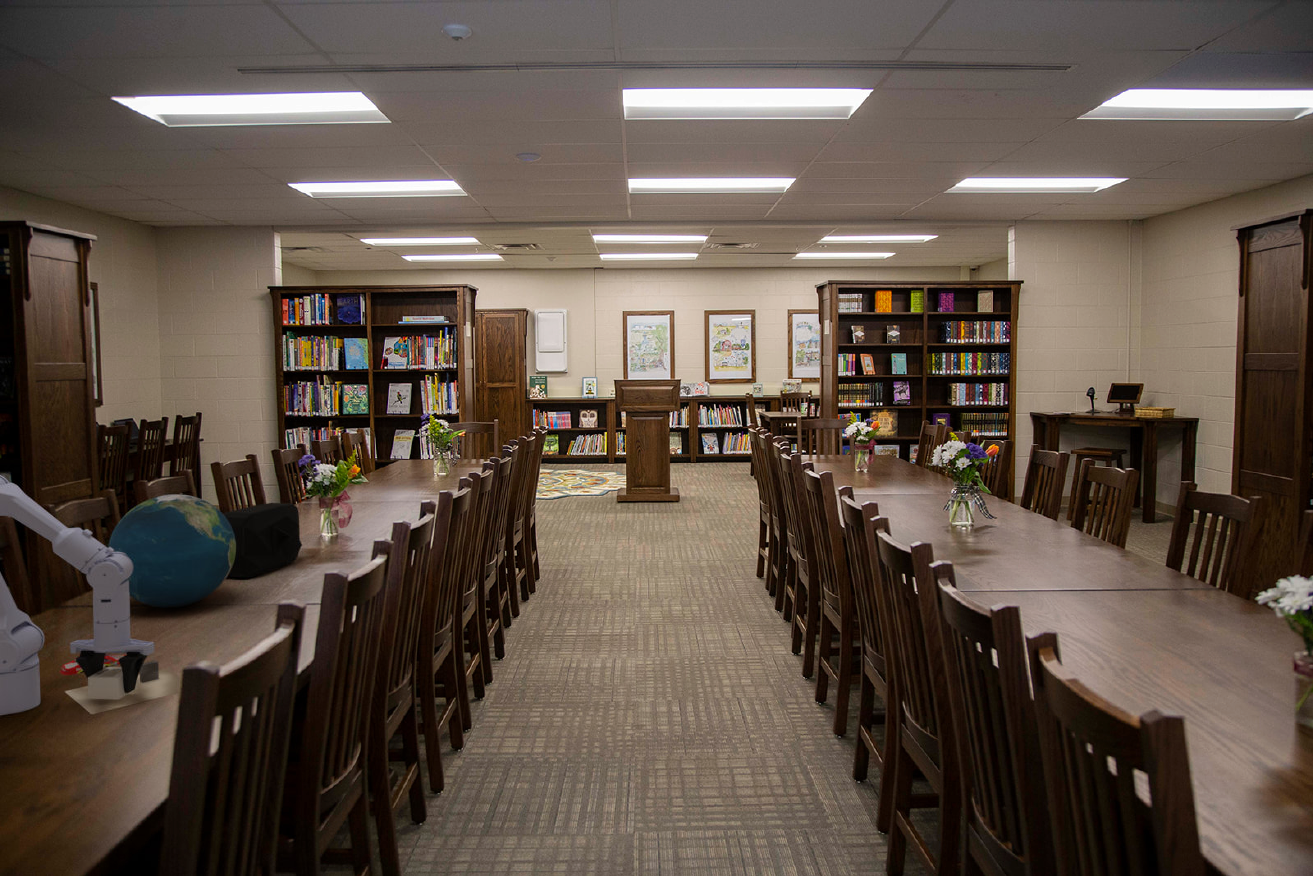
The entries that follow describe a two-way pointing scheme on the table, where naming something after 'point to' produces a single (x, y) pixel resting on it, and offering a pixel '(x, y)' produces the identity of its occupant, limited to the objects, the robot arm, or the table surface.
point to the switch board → (149, 687)
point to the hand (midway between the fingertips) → (113, 690)
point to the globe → (175, 549)
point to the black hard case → (264, 538)
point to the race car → (75, 668)
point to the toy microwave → (107, 684)
